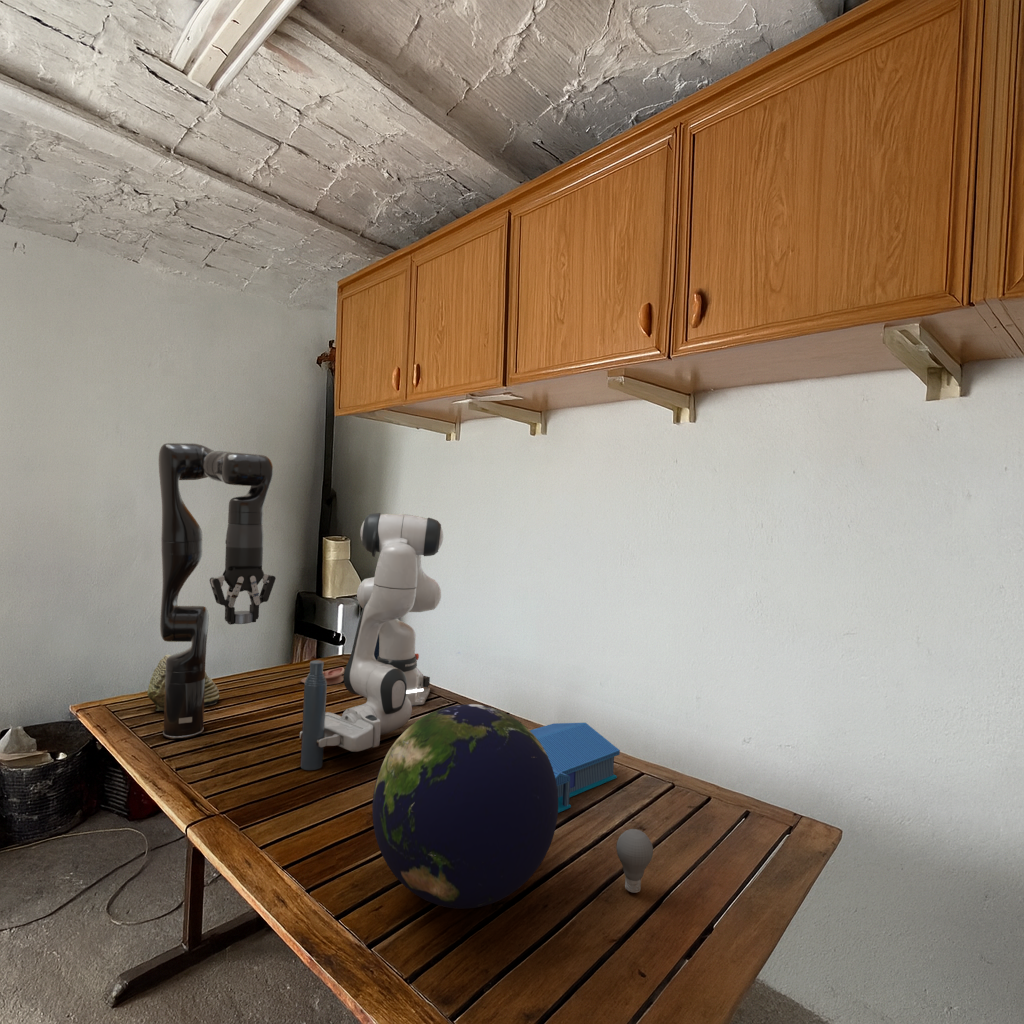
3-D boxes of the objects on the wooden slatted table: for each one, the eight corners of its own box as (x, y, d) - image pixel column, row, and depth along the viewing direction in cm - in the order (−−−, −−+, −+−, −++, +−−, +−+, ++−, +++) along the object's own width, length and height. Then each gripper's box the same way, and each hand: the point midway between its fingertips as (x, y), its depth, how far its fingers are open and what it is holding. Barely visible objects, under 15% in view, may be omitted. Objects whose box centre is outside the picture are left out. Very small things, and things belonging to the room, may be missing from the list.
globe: (328, 919, 95) (336, 721, 95) (427, 827, 123) (434, 674, 122) (512, 985, 84) (522, 760, 83) (576, 867, 112) (584, 698, 111)
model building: (501, 837, 120) (504, 785, 120) (427, 790, 139) (429, 744, 138) (628, 782, 147) (630, 739, 147) (552, 748, 165) (553, 710, 165)
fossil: (144, 707, 182) (145, 655, 182) (212, 696, 194) (213, 647, 194) (151, 716, 175) (153, 662, 175) (221, 703, 188) (223, 653, 188)
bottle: (300, 771, 145) (305, 664, 145) (300, 762, 150) (305, 659, 150) (322, 769, 147) (328, 664, 147) (322, 761, 152) (327, 658, 152)
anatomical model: (296, 671, 211) (313, 663, 222) (295, 683, 211) (313, 674, 222) (332, 675, 208) (348, 666, 219) (332, 687, 208) (348, 678, 219)
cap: (249, 624, 137) (250, 614, 137) (228, 624, 136) (229, 614, 136) (254, 620, 141) (254, 610, 141) (233, 620, 141) (233, 610, 140)
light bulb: (610, 879, 108) (613, 822, 108) (644, 879, 109) (647, 822, 109) (619, 902, 102) (622, 840, 102) (655, 901, 103) (658, 840, 103)
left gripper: (216, 546, 131) (213, 629, 131) (283, 545, 141) (280, 622, 141) (204, 544, 136) (201, 623, 137) (269, 543, 146) (267, 616, 146)
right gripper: (331, 702, 165) (284, 715, 154) (384, 722, 153) (337, 737, 142) (330, 726, 165) (283, 741, 154) (383, 747, 153) (336, 765, 142)
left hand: (241, 622), depth 139 cm, fingers closed on cap, 4 cm apart
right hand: (309, 739), depth 148 cm, fingers closed on bottle, 5 cm apart
